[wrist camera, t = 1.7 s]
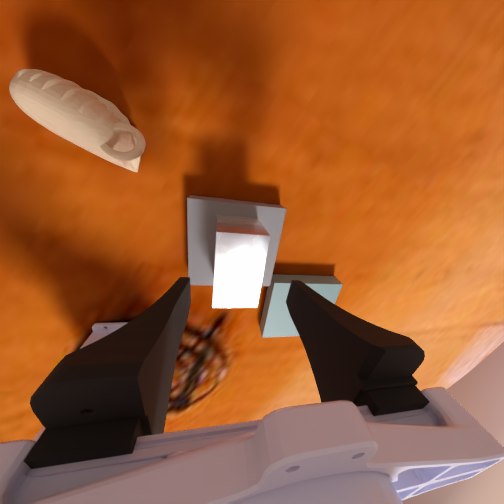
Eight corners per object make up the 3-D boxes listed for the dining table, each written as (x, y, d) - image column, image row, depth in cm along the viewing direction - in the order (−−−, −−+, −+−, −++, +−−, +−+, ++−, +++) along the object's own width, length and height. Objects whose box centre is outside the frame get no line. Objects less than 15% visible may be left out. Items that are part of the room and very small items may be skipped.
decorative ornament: (55, 66, 13) (-44, 7, 8) (170, 142, 16) (148, 132, 11) (43, 122, 14) (-49, 100, 9) (152, 183, 17) (126, 190, 12)
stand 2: (259, 326, 27) (262, 337, 26) (270, 274, 23) (274, 283, 22) (315, 324, 29) (321, 334, 28) (334, 276, 25) (342, 284, 24)
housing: (214, 276, 20) (212, 307, 16) (217, 214, 17) (216, 231, 13) (249, 277, 21) (257, 307, 16) (257, 218, 18) (270, 235, 13)
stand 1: (191, 275, 22) (188, 285, 20) (190, 194, 18) (187, 198, 16) (266, 277, 24) (269, 286, 22) (280, 204, 20) (286, 208, 18)
